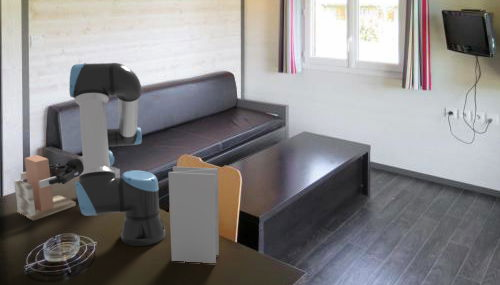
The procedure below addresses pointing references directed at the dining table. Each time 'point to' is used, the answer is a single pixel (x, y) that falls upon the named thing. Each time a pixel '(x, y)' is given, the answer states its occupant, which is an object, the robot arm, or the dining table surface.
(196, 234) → the brochure
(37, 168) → the salmon pink rectangular block
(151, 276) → the dining table surface
